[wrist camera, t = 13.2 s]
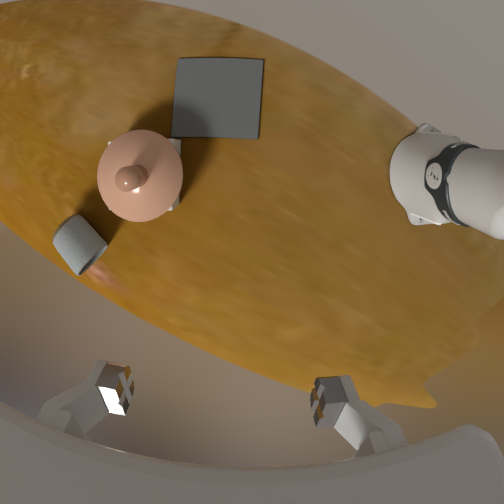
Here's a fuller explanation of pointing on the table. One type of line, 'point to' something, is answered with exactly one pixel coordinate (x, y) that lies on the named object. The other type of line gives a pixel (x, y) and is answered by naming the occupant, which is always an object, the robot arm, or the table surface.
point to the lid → (140, 175)
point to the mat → (217, 98)
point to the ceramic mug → (78, 243)
